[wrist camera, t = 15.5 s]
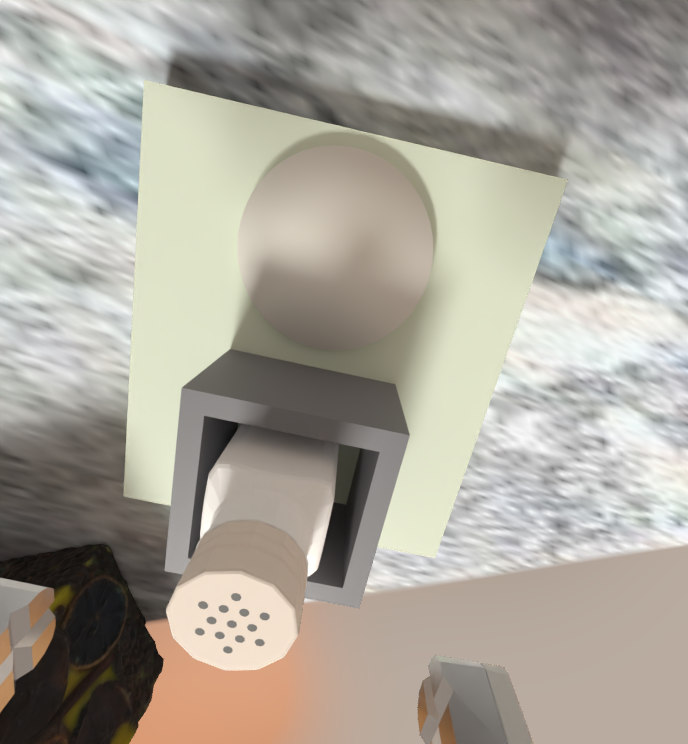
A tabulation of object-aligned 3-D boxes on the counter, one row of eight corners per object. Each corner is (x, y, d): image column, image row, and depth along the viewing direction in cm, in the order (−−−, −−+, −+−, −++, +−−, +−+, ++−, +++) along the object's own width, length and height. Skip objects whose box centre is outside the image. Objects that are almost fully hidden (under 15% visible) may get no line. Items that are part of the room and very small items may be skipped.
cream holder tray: (163, 95, 16) (37, -5, 9) (549, 185, 16) (668, 147, 10) (139, 479, 21) (48, 576, 15) (429, 537, 22) (459, 654, 15)
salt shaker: (327, 483, 19) (300, 696, 10) (245, 467, 19) (143, 669, 10) (343, 408, 18) (330, 573, 9) (256, 391, 18) (152, 540, 9)
